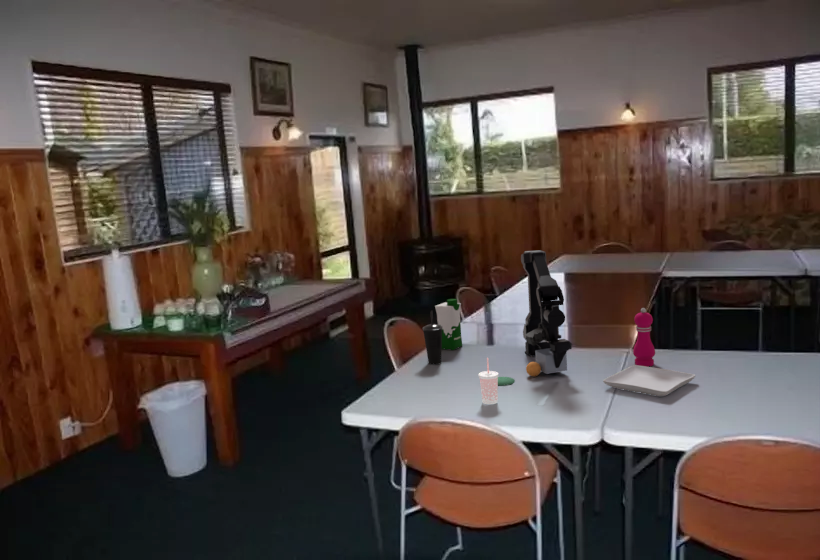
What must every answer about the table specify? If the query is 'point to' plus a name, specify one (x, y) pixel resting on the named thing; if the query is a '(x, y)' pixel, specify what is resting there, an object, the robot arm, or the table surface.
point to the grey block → (549, 361)
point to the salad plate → (648, 380)
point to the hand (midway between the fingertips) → (551, 364)
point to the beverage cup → (489, 386)
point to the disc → (505, 381)
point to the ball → (533, 369)
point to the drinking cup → (433, 341)
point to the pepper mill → (643, 340)
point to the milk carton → (450, 323)
